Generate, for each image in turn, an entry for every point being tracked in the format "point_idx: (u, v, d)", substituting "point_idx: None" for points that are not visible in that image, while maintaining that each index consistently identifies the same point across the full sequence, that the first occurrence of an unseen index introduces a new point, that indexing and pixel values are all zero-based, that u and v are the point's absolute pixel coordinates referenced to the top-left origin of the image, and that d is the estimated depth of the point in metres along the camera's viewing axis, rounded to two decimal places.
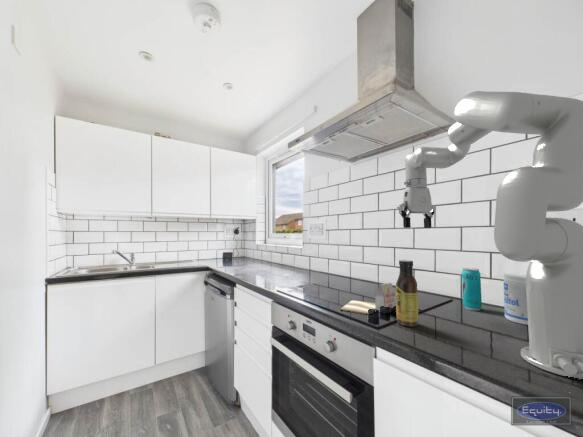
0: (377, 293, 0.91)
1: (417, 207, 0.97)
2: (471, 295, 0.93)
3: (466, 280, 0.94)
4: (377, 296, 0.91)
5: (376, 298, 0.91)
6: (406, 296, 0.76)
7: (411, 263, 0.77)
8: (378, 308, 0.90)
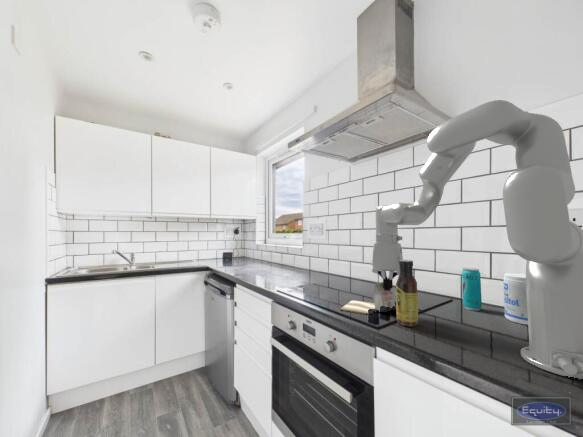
0: (374, 292, 0.92)
1: None
2: (471, 295, 0.93)
3: (466, 280, 0.94)
4: (375, 295, 0.91)
5: (374, 298, 0.92)
6: (406, 296, 0.76)
7: (411, 263, 0.77)
8: (377, 307, 0.90)
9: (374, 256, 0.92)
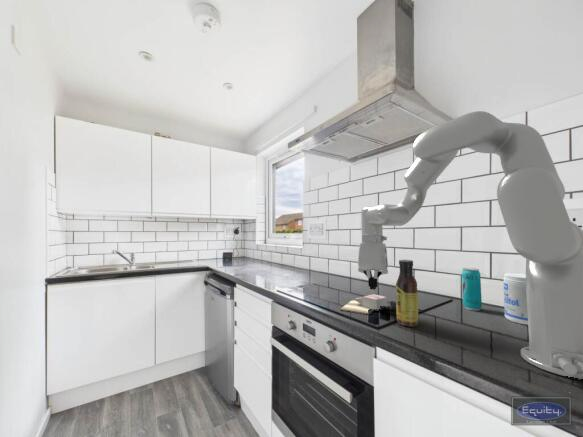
0: (361, 304, 0.96)
1: None
2: (471, 295, 0.93)
3: (466, 280, 0.94)
4: (363, 304, 0.95)
5: (365, 306, 0.95)
6: (406, 296, 0.76)
7: (411, 263, 0.77)
8: (373, 305, 0.92)
9: (360, 256, 0.95)
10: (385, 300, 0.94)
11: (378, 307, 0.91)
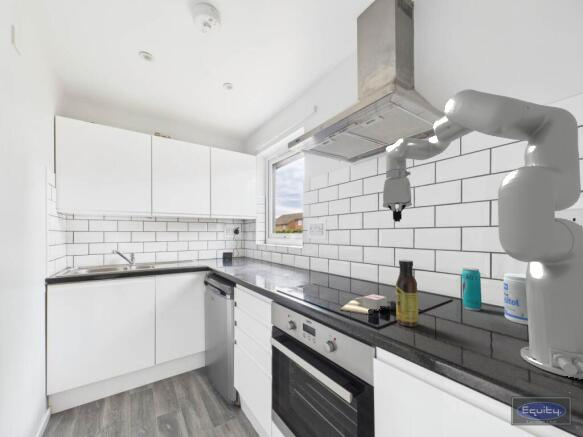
0: (361, 304, 0.96)
1: None
2: (471, 295, 0.93)
3: (466, 280, 0.94)
4: (363, 304, 0.95)
5: (365, 306, 0.94)
6: (406, 296, 0.76)
7: (411, 263, 0.77)
8: (373, 305, 0.92)
9: (384, 191, 1.01)
10: (385, 300, 0.94)
11: (378, 307, 0.91)
